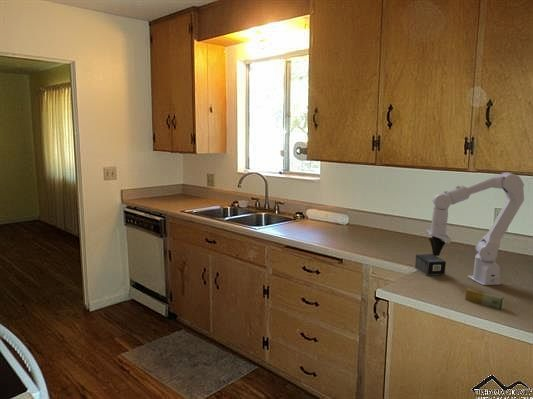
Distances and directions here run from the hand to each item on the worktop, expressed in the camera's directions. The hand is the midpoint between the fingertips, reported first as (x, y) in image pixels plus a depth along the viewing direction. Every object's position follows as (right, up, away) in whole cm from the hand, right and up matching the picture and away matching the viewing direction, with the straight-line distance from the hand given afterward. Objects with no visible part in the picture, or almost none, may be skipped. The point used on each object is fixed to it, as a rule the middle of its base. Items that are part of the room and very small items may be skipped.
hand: (436, 255), depth 172 cm
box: (0, -5, -1) cm, 5 cm away
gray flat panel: (-1, -8, +6) cm, 9 cm away
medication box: (+6, -14, -26) cm, 30 cm away
